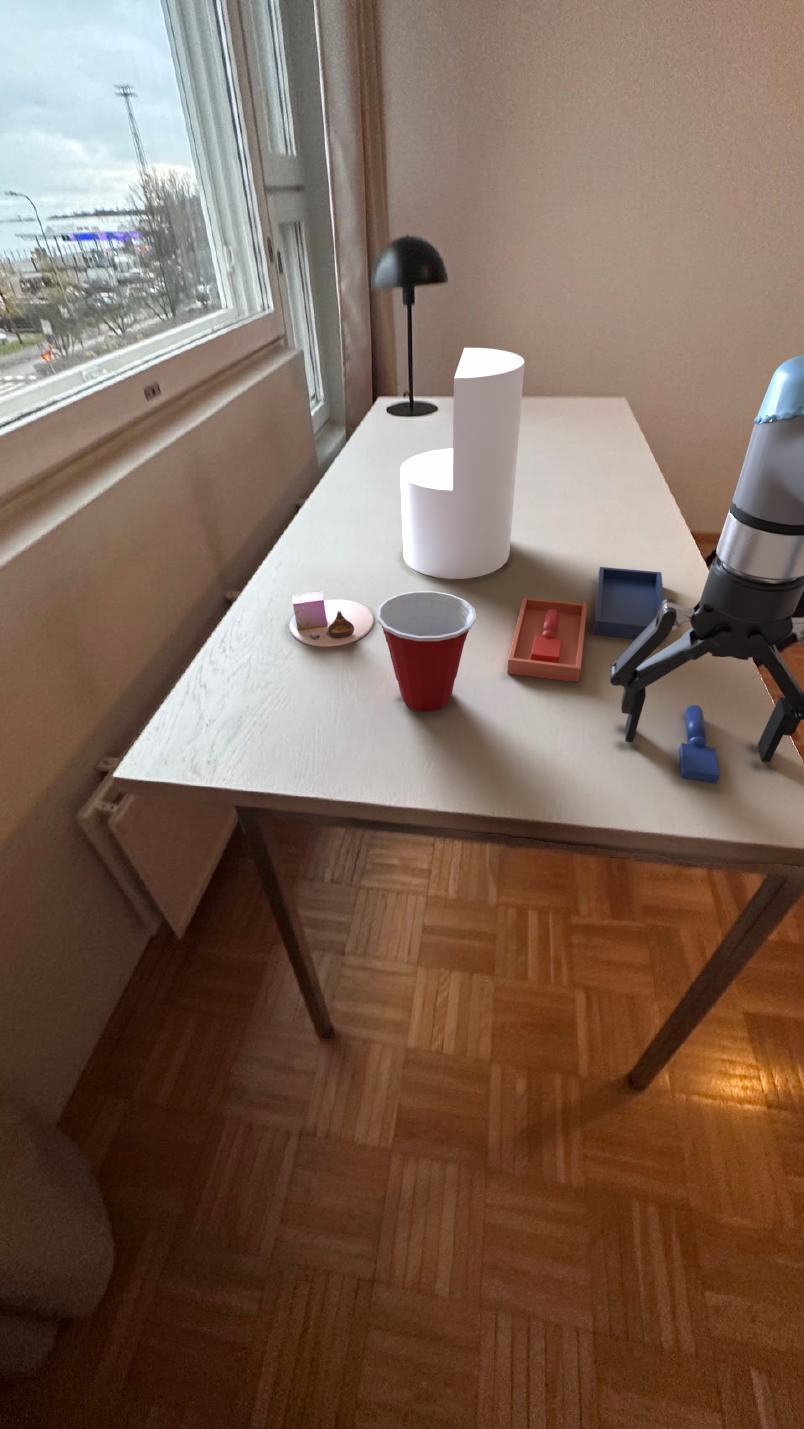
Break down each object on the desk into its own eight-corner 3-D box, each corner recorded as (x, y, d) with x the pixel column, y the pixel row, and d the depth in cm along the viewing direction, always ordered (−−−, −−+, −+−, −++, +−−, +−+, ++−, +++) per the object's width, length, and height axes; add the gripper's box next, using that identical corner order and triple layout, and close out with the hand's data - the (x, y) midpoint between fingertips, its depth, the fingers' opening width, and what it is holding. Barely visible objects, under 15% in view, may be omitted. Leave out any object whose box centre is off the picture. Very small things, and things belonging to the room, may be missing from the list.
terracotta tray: (584, 616, 88) (587, 603, 86) (578, 682, 77) (581, 668, 75) (521, 610, 90) (523, 597, 88) (506, 673, 79) (508, 659, 77)
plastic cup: (488, 685, 77) (493, 599, 69) (444, 737, 70) (445, 649, 62) (412, 659, 82) (409, 576, 74) (364, 706, 75) (356, 620, 67)
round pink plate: (291, 652, 84) (286, 623, 81) (286, 606, 93) (281, 579, 90) (380, 639, 85) (378, 610, 82) (367, 595, 94) (364, 568, 91)
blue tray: (658, 584, 93) (661, 572, 92) (661, 642, 82) (665, 628, 81) (597, 579, 95) (599, 566, 94) (593, 634, 84) (595, 620, 83)
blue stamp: (675, 711, 72) (679, 699, 71) (707, 716, 71) (711, 703, 70) (680, 777, 64) (685, 765, 63) (716, 783, 64) (721, 771, 62)
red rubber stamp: (539, 616, 87) (540, 605, 86) (564, 619, 86) (566, 608, 85) (530, 661, 79) (531, 649, 78) (558, 664, 79) (559, 652, 77)
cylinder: (510, 531, 109) (524, 347, 90) (507, 581, 96) (524, 378, 78) (411, 528, 111) (405, 348, 93) (395, 576, 98) (385, 378, 80)
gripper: (914, 555, 54) (816, 737, 68) (611, 532, 59) (578, 704, 73) (946, 601, 48) (832, 788, 62) (609, 570, 54) (573, 749, 68)
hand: (694, 743), depth 68 cm, fingers open, 13 cm apart
